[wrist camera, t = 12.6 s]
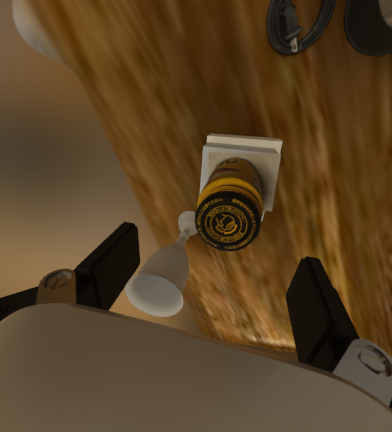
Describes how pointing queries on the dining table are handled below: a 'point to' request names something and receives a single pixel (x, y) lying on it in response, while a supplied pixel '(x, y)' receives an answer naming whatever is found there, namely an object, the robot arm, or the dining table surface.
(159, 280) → the chalice
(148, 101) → the dining table surface
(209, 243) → the condiment
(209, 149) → the tower top
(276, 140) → the tower base
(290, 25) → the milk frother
